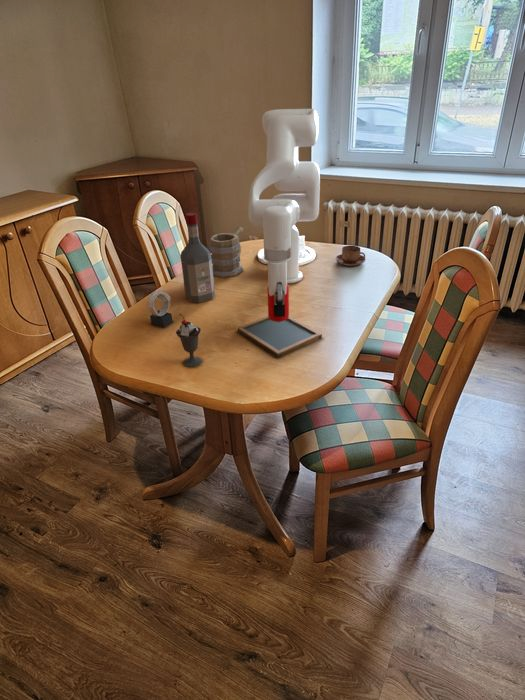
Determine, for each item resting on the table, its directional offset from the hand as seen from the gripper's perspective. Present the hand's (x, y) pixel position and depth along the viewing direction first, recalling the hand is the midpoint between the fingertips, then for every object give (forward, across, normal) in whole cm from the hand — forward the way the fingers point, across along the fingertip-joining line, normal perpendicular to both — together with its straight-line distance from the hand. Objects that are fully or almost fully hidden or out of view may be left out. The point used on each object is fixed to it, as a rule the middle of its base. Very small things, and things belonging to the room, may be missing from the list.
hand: (278, 310), depth 136 cm
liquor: (+9, -30, -26) cm, 41 cm away
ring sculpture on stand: (+9, -12, -38) cm, 40 cm away
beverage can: (+3, 0, 0) cm, 3 cm away
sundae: (+9, +13, -26) cm, 30 cm away
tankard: (+8, -58, -15) cm, 60 cm away
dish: (+8, -68, +8) cm, 69 cm away
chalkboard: (+8, 0, 0) cm, 8 cm away
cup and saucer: (+8, -57, +34) cm, 67 cm away
